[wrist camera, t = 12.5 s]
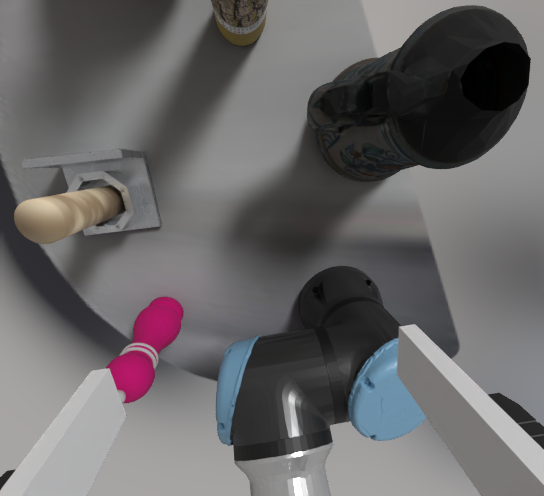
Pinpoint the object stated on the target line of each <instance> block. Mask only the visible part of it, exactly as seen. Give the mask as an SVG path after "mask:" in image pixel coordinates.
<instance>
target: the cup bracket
mask: <svg viewBox="0 0 544 496" xmlns="http://www.w3.org/2000/svg"><path fill="white" fill-rule="evenodd" d="M21 162H22V165H23V167H24V168H62V170H63V173H64V176H65V179H66V181H67V184H68V187H69V189H68V190H67V192H66V193H69V192H75V191H80V190H86V189H91V188H97V187H103V186H108V185H112V186H114V187H115V188H117V189H118V190H120V191H121V194H122V198H123V201H124V205H125V209H126V211H125V212H124V213H122V214H119V215H117V216H115V217H112V218H110V219H107V220H105V221H103V222H100V223H98V224H96V225H93V226H91V227H89V228H86V229H84V230H83V232H84V235H85V236H86V235H94V234H102V233H110V232H118V231H126V230H134V229H143V228H151V227H159V226H161V225H162V222H161V218H160V214H159V210H158V206H157V201H156V197H155V193H154V189H153V185H152V181H151V177H150V172H149V168H148V164H147V160H146V156H145V152H143V151H134V150H125V149H115V150H106V151H97V152H88V153H79V154H70V155H61V156H52V157H43V158H34V159H25V160H21Z"/></svg>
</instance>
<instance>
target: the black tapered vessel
mask: <svg viewBox="0 0 544 496" xmlns="http://www.w3.org/2000/svg"><path fill="white" fill-rule="evenodd" d="M530 60H531V59H530V57H529V56H528V52H527V47H526V44H525V42H524V40H523V37H522V35H521V34H520V33H519V31H518V30H517V28H516V27H515V26H514V25H513V24H512V23H511V22H510V21H509V20H508V19H507V18H505V17H504V16H503V15H502V14H500V13H498V12H496V11H494V10H492V9H489V8H487V7H484V6H473V5H472V6H460V7H453V8H451V9H448V10H445V11H442V12H440V13H438V14H436V15H435V16H433V17H432V18H430V19H428V20H427V21H425V22H424V23H423V24H422V25H420V26H419V27H418V28H417V29H416V30H415V31H414V32H413V34H412V35H411V36H410V37H409V38H408V39H407V41H406V42H405V43H404V44H403V46H402V47H401V48H399V49H397V50H395V51H393V52H389V53H388V54H386V55H384V56H382V57H380V58H371V59H366V60H362V61H360V62H357V63H355V64H353V65H351V66H350V67H348V68H347V69H345V70H344V71H343V72H341V73H340V74H339V75H338V76H337V77H336V78H335V79H334V80H333V82H331V83H327V84H324V85H322V86H320V87H319V88H317V89H316V90H314V92H313V93H312V94H311V96H310V98H309V101H308V107H307V118H308V123H309V125H310V127H311V128H312V129H314V130H316V133H317V143H318V145H319V148H320V150H321V152H322V154H323V157H324V159H325V160H326V161H327V162H328V164H329V165H330V166H331V167H332V168H333V169H334V170H335V171H337V172H338V173H339V174H341V175H343V176H344V177H347V178H349V179H351V180H355V181H361V182H370V181H378V180H382V179H385V178H387V177H390V176H392V175H394V174H396V173H397V172H399V171H400V170H403V169H406V168H410V167H413V166H417V165H421V166H424V167H427V168H433V169H450V168H455V167H459V166H462V165H464V164H467V163H470V162H472V161H474V160H476V159H478V158H479V157H481V156H482V155H484V154H485V153H486V152H488V151H489V150H490V149H491V148H493V147H494V146H495V145H496V144H497V143H498V142H499V141H500V140H501V139H502V138H503V136H504V135H505V134H506V133H507V131H508V130H509V128H510V127H511V125H512V124H513V122H514V120H515V119H516V118H517V116H518V113H519V111H520V109H521V107H522V104H523V102H524V99H525V96H526V92H527V88H528V84H529V72H530Z"/></svg>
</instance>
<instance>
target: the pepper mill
mask: <svg viewBox="0 0 544 496" xmlns="http://www.w3.org/2000/svg"><path fill="white" fill-rule="evenodd" d="M182 317H183V308H182V306H181V305H180V303H179V302H178V301H176V300H175V299H173V298H170V297H160V298H157V299H155V300H153V301H152V302H151V303H150V305H149V306H148V307H147V308H145V309H144V310H142V311H141V312H140V314H139V315H138V317H137V319H136V321H135V324H134V329H133V331H134V337H133V342H132V343H131V344H130V345H128V346H126V347H125V348H124V349H123V351H122V353H121V354H120V355H119V356H118V357H116V358H115V359H114V360H112V361H111V362H110V363H109V364H108V366H107V367H106V369H108V368H109V369H110V372H111V374H112V377H113V380H114V383H115V385H116V388H117V391H118V393H119V396H120V399H121V402H122V404H123V403H129V402H134V401H136V400H138V399H140V398H141V397H142V396H144V395H145V394H146V393H147V391H148V390H149V389H150V387H151V386H152V383H153V381H154V378H155V368H156V366H157V364H158V354H159V352H160V351H161V350H162V349H163V348H165V347H166V346H168V345H169V344H171V343H172V342H173V341H174V340H175V338H176V337H177V335H178V334H179V332H180V329H181V320H182Z"/></svg>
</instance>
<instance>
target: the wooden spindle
mask: <svg viewBox="0 0 544 496" xmlns="http://www.w3.org/2000/svg"><path fill="white" fill-rule="evenodd" d="M125 211H126V209H125V205H124V201H123V198H122V194H121V191H120V190H118V189H117V188H115V187H114V186H112V185H108V186H103V187H97V188H91V189H86V190H80V191H75V192H69V193H63V194H58V195H52V196H47V197H41V198H36V199H30V200H26V201H24V202H22V203H20V204H19V205H18V207H17V208H16V210H15V214H14V219H15V224H16V226H17V228H18V230H19V231H20V232H21V233H22V234H23V235H24V236H25V237H26V238H28V239H29V240H31V241H33V242H36V243H40V244H50V243H53V242H56V241H58V240H60V239H63V238H65V237H68V236H70V235H72V234H75V233H77V232H79V231H82V230H84V229H86V228H89V227H91V226H93V225H96V224H98V223H100V222H103V221H105V220H107V219H110V218H112V217H115V216H117V215H119V214H122V213H124V212H125Z"/></svg>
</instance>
